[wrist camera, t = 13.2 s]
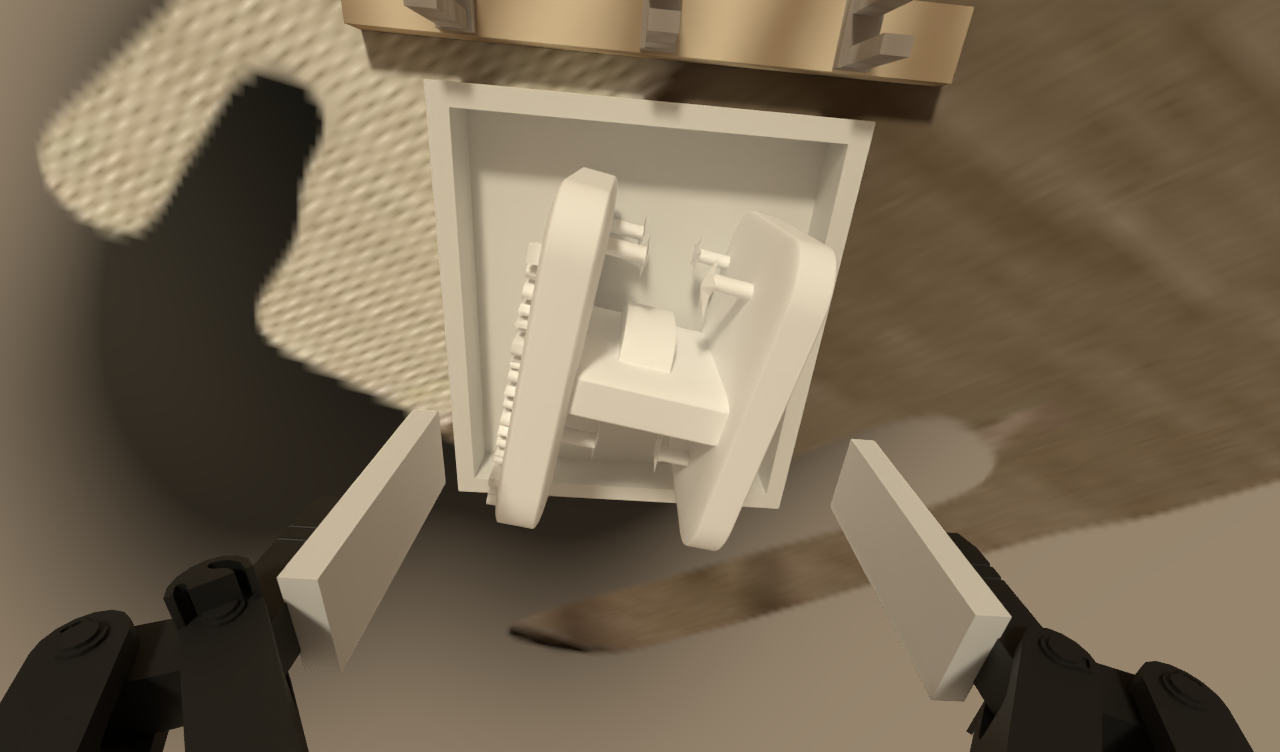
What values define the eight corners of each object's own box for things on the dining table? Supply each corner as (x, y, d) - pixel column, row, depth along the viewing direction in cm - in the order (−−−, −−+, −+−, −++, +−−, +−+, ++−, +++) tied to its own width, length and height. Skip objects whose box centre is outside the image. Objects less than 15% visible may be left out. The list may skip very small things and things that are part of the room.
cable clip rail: (954, 14, 24) (1049, -22, 19) (934, 86, 25) (1017, 72, 20) (350, -51, 23) (262, -110, 17) (360, 29, 24) (281, -3, 18)
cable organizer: (687, 443, 33) (713, 586, 23) (526, 408, 32) (474, 542, 21) (770, 212, 27) (858, 260, 16) (575, 157, 26) (536, 171, 15)
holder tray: (845, 123, 26) (875, 121, 23) (765, 475, 35) (778, 508, 32) (449, 86, 25) (423, 78, 22) (474, 458, 34) (458, 490, 31)
